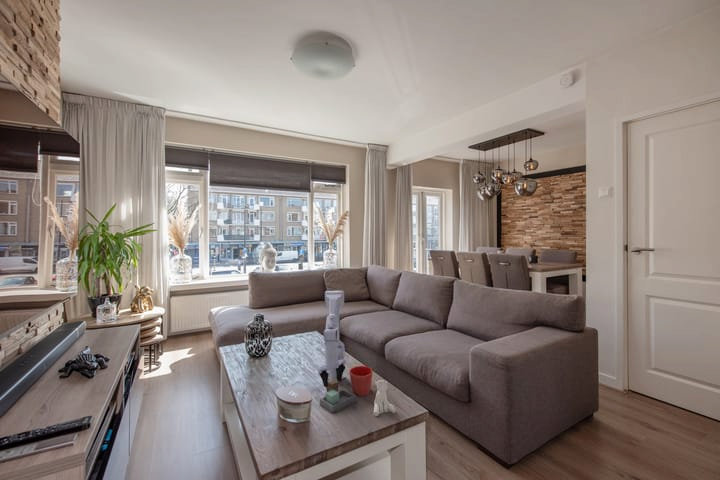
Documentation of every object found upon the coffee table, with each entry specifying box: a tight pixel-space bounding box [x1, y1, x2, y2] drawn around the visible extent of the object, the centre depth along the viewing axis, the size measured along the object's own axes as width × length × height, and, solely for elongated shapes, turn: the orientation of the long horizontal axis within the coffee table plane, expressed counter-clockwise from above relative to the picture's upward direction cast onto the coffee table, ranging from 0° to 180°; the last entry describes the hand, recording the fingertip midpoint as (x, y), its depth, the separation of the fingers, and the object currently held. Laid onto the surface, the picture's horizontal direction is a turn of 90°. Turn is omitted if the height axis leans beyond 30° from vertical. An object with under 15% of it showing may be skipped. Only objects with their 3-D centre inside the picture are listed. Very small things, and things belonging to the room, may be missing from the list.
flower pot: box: [349, 365, 373, 396], centre depth 145 cm, size 11×11×10 cm
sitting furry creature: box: [373, 379, 397, 417], centre depth 130 cm, size 10×9×12 cm
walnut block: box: [325, 379, 340, 393], centre depth 145 cm, size 4×4×5 cm
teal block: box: [325, 390, 339, 405], centre depth 134 cm, size 4×4×5 cm
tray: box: [319, 388, 357, 414], centre depth 136 cm, size 9×13×2 cm
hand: (332, 383), depth 145 cm, fingers open, 7 cm apart
